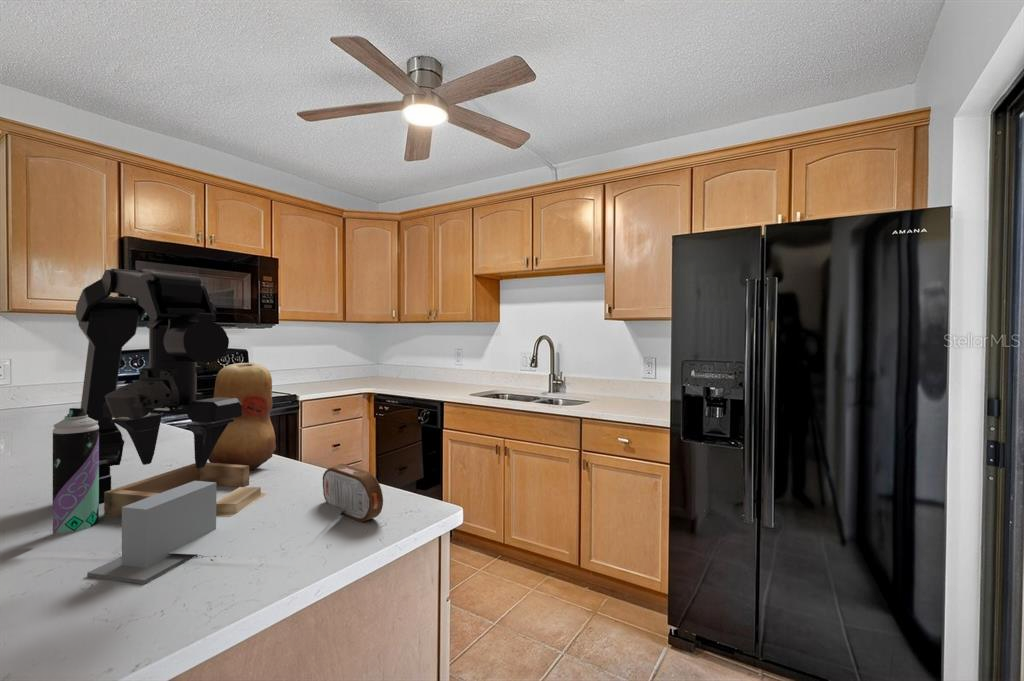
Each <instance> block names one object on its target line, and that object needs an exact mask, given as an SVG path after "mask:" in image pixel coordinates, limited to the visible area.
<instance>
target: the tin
mask: <svg viewBox="0 0 1024 681" xmlns="http://www.w3.org/2000/svg"><path fill="white" fill-rule="evenodd" d="M322 489H323V490H322V493H323V497H324V500H325V502H326V503H327V504H329V505H332V506H335V507H337V508H339V509H342V511H341V512H340V514H341V515H342V516H346V517H348V518H350V519H352V520H355V521H357V522H360V523H363V522H366V521H369V520H371V519H375V518H377V517H378V516H379V515H380V514H381V512H382V509H383V506H384V497H383V496H384V495H383V490H382V487H381V485H380V483H379V481H378V479H377V477H375V475H374V474H372V473H371V472H369V471H366V470H363V469H360V468H358V467H354V466H351V465H348V464H346V463H339V464H337V465H333V466H331V467H329V468H327V469H326V470H325V471H324V473H323V475H322Z"/></svg>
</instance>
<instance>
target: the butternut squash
mask: <svg viewBox="0 0 1024 681" xmlns="http://www.w3.org/2000/svg"><path fill="white" fill-rule="evenodd" d="M270 372H271V371H270V370H269V368H267V367H266V366H264V365H262V364H260V363H255V362H238V363H232V364H228V365H225V366H224V367H222V368H220V370H219V371H218V373H217V374H216V378H215V384H214V390H213V398H216V397H224V398H237V399H238V400H239V401H240V402H241V404H242V416H240V417H236V418H234V422H231V423H229V424H228V425H227V427H226V428H225V430H224V431H223V433H222V434H221V436H220V438H219V439H218V441H217V443H216V445H215V447H214V449H213V451H212V453H211V455H210V457H209V459H208V460H207V461H208V462H209V463H222V464H235V465H247V466H249V471H254V470H255V469H257V468H259V467H260V466H262V465H263V464H264V463H266V462H267V461H269V460H270V459H271V458H272V457H273V454H274V452H275V451H276V450H277V445H276V434H275V433H276V432H275V429H274V426H273V423H272V421H271V415H270V414H271V410H272V409H273V404H274V403H273V392H272V391H273V378H272V375H271V374H272V373H270Z"/></svg>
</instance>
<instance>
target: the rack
mask: <svg viewBox="0 0 1024 681" xmlns="http://www.w3.org/2000/svg"><path fill="white" fill-rule="evenodd" d="M193 481H204V482H216V486H224V487H226V486H227V487H236V488H239V487H249V485H250V470H249V466H247V465H235V464H222V463H210V462H209V461H207V462H206V464H205V466H204V467H203V468H200V469H197V468H196V463H195V462H194V463H191V464H188V465H185V466H183V467H178V468H175V469H173V470H170V471H166V472H163V473H160V474H157V475H153V476H149V477H147V478H144V479H141V480H138V481H135V482H132V483H129V484H126V485H123V486H120V487H115V488H113V489H111V490H109V491H106V492H104V501H103V502H104V505H103V506H104V508H103V512H104V514H103V515H104V516H106V517H108V516H109V517H116V518H117V517H118V518H122V507H123V506H126V505H129V504H132V503H135V502H137V501H140V500H143V499H146V498H148V497H151V496H154V495H157V494H159V493H162V492H165V491H168V490H170V489H173V488H176V487H179V486H181V485H184V484H187V483H190V482H193Z"/></svg>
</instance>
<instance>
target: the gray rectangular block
mask: <svg viewBox="0 0 1024 681" xmlns="http://www.w3.org/2000/svg"><path fill="white" fill-rule="evenodd" d="M216 502H217V485H216V482H204V481H193V482H190V483H187V484H184V485H181V486H179V487H176V488H173V489H170V490H168V491H165V492H162V493H159V494H157V495H154V496H151V497H148V498H146V499H143V500H140V501H137V502H135V503H132V504H129V505H126V506H123V507H122V517H121V557H122V565H124V566H132V567H140V568H148V567H150V566H152V565H154V564H156V563H158V562H160V561H162V560H164V559H165V558H167V557H169V556H171V555H173V554H174V553H171V552H173V551H175V550H177V549H179V548H181V547H184V546H185V545H187V544H189V543H191V542H194V541H195V540H197V539H199V538H202V537H203V536H205V535H207V534H209V533H211V532H213V531H215V530H216V529H217V516H216Z"/></svg>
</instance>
